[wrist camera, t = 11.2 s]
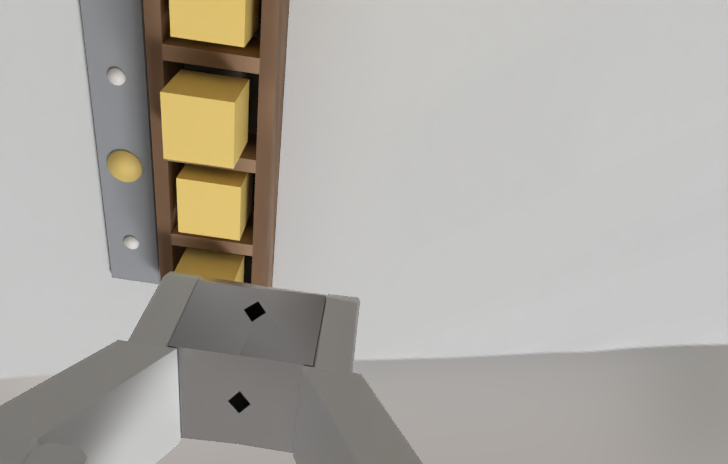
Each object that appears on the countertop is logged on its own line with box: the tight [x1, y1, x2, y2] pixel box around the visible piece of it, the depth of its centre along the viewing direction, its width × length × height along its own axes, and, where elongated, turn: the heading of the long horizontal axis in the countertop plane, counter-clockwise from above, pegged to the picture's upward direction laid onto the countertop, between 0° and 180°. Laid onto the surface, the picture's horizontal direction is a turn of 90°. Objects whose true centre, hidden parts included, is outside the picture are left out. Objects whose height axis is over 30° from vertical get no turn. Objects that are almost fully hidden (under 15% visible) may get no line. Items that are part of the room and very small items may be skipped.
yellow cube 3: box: [176, 163, 253, 241], centre depth 46 cm, size 4×4×4 cm
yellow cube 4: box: [174, 248, 244, 283], centre depth 48 cm, size 4×4×4 cm
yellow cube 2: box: [160, 69, 249, 169], centre depth 40 cm, size 4×4×4 cm
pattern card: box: [80, 0, 161, 284], centre depth 46 cm, size 4×29×1 cm, turn 173°
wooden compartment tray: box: [143, 0, 289, 287], centre depth 44 cm, size 8×29×4 cm, turn 173°
